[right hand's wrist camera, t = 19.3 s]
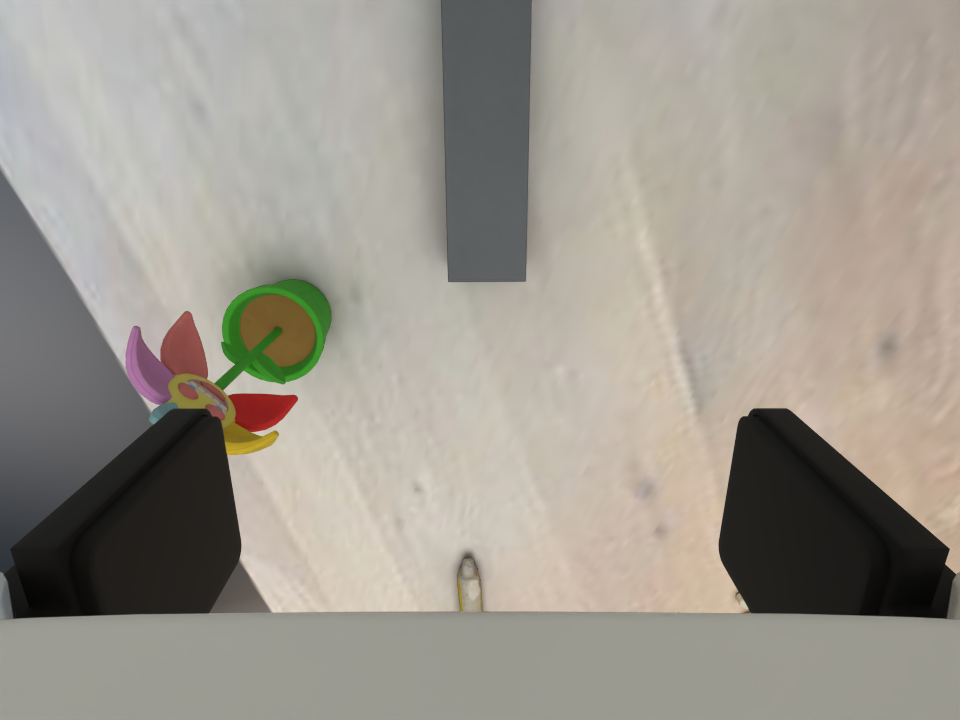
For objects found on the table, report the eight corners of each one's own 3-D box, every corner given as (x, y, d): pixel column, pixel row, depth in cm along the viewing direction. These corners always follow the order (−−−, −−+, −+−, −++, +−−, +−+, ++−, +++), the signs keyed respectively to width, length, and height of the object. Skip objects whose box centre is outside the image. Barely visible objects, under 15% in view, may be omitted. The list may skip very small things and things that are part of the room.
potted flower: (364, 316, 53) (271, 456, 30) (307, 375, 55) (179, 551, 31) (279, 241, 51) (106, 327, 27) (223, 305, 53) (17, 437, 29)
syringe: (454, 552, 62) (453, 570, 59) (491, 552, 62) (491, 570, 59) (463, 728, 70) (462, 751, 68) (495, 728, 70) (496, 750, 68)
